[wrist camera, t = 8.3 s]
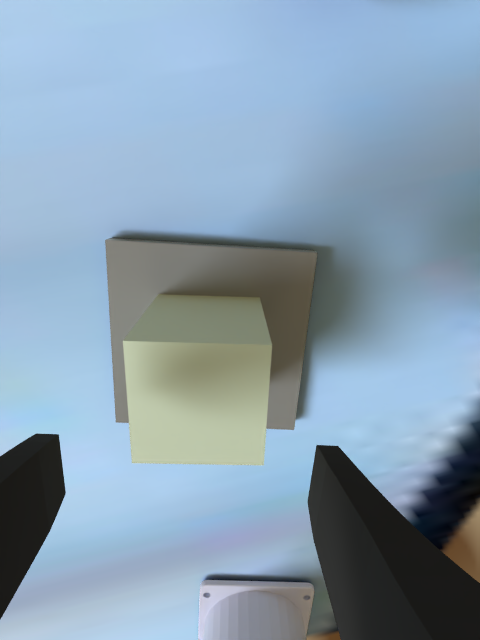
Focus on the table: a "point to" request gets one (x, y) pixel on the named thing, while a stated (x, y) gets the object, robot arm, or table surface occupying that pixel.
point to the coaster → (216, 280)
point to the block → (198, 381)
